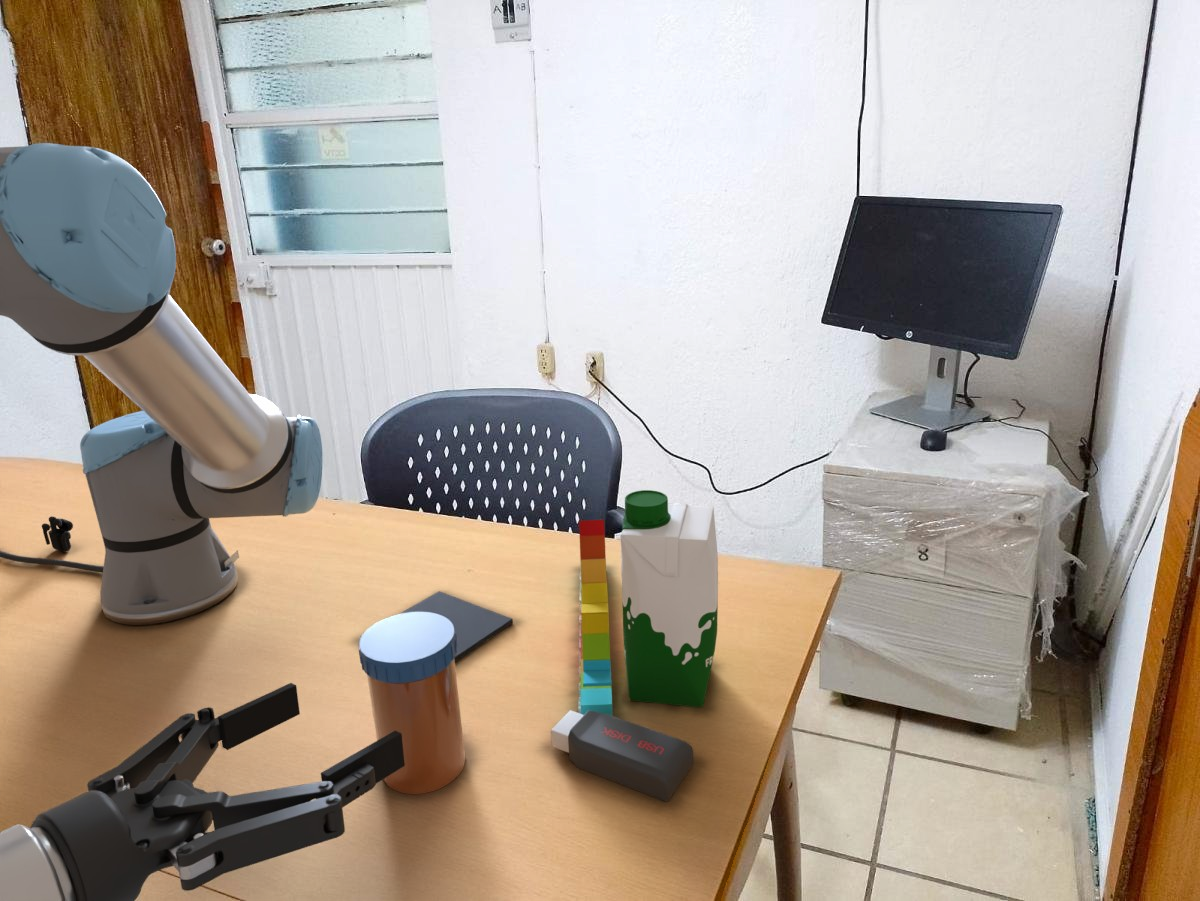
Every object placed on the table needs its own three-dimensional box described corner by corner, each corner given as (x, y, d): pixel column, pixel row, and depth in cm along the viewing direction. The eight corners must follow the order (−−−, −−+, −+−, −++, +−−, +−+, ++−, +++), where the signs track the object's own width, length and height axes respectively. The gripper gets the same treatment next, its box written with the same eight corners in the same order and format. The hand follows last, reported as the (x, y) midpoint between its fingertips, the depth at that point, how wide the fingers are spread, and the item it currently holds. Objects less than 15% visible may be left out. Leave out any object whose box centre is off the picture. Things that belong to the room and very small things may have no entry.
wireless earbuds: (44, 547, 118) (35, 515, 117) (62, 540, 120) (53, 508, 119) (70, 557, 115) (61, 524, 113) (88, 550, 117) (79, 518, 115)
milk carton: (633, 654, 88) (628, 479, 81) (719, 662, 86) (722, 483, 79) (618, 706, 80) (612, 516, 73) (713, 715, 78) (715, 521, 71)
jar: (364, 772, 72) (344, 648, 68) (426, 727, 78) (411, 610, 73) (421, 806, 68) (404, 676, 64) (482, 756, 74) (469, 633, 69)
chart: (580, 570, 106) (575, 460, 101) (605, 569, 106) (601, 459, 101) (578, 723, 78) (571, 580, 73) (612, 721, 78) (608, 579, 73)
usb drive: (667, 802, 68) (667, 775, 67) (546, 755, 73) (544, 729, 73) (694, 763, 72) (694, 737, 71) (577, 721, 78) (575, 697, 77)
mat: (360, 640, 92) (360, 636, 92) (439, 595, 101) (439, 590, 101) (436, 675, 86) (435, 670, 85) (513, 623, 95) (512, 618, 94)
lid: (341, 663, 68) (338, 643, 68) (414, 620, 74) (411, 602, 74) (404, 695, 64) (402, 674, 63) (476, 648, 70) (474, 628, 69)
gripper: (-13, 852, 58) (263, 719, 75) (158, 1036, 43) (455, 819, 60) (-34, 757, 57) (253, 642, 73) (136, 913, 42) (447, 725, 58)
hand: (345, 721), depth 67 cm, fingers open, 13 cm apart
